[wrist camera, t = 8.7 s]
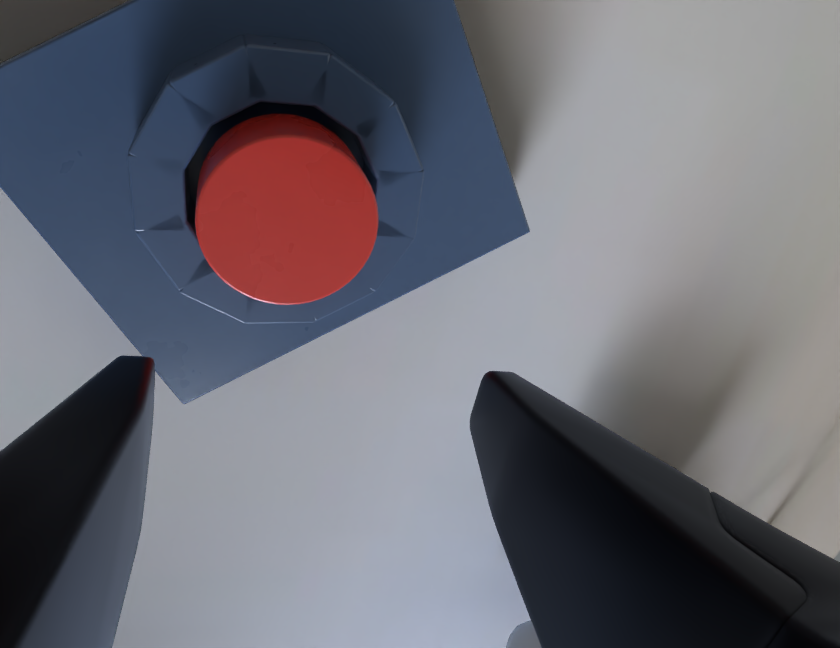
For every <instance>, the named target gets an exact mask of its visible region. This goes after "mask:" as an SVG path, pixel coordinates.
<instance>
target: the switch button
mask: <svg viewBox="0 0 840 648" xmlns="http://www.w3.org/2000/svg"><path fill="white" fill-rule="evenodd" d="M378 219H379V216H378V206H377V202H376V198H375V194H374V192H373V189H372V187H371V184H370V182H369V181H368V179H367V177H366V175H365V174H364V172H363V170H362V169H361V167H360V166H359V164H358V162H357V161H356V159H355V157H354V156H353V154H352V152H351V151H350V150H349V148H348V147H347V146H346V144H345V143H344V142H343V141H342V140H341V139H340V138H339V137H338V136H337V135H336V134H335V133H333V132H332V131H331V130H330V129H328V128H327V127H325V126H323V125H322V124H320V123H318V122H316V121H313V120H311V119H309V118H305V117H302V116H298V115H292V114H266V115H261V116H257V117H253V118H250V119H248V120H245V121H243V122H241V123H239V124H237V125H235V126H234V127H232V128H231V129H229V130H228V131H227V132H225V133H224V134H223V135H222V136H221V137H220V138H219V139H218V140H217V141H216V142H215V143H214V145H213V146H212V148H211V149H210V150H209V152H208V154H207V156H206V158H205V160H204V162H203V164H202V167H201V170H200V174H199V180H198V188H197V198H196V209H195V227H196V235H197V239H198V243H199V246H200V248H201V251H202V253H203V255H204V257H205V259H206V260H207V262H208V264H209V265H210V267H211V268H212V269H213V270H214V272H215V273H216V274H217V275H218V276H219V277H220V278H221V279H222V280H223V281H224V282H225V283H226V284H228V285H229V286H230V287H232V288H233V289H235V290H236V291H238V292H240V293H242V294H243V295H246V296H248V297H250V298H253V299H255V300H259V301H262V302H266V303H272V304H280V305H293V304H302V303H308V302H312V301H315V300H319V299H321V298H324V297H326V296H328V295H331V294H332V293H334V292H336V291H338V290H339V289H341V288H342V287H343V286H345V285H346V284H347V283H349V282H350V281H351V280H352V279H353V278H354V277H355V276H356V275H357V274H358V272H359V271H360V270H361V269H362V268H363V266H364V265H365V263H366V261H367V260H368V258H369V256H370V254H371V252H372V250H373V247H374V244H375V241H376V237H377V232H378Z"/></svg>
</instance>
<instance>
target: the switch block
mask: <svg viewBox="0 0 840 648" xmlns="http://www.w3.org/2000/svg"><path fill="white" fill-rule="evenodd" d="M266 114H292V115H298V116H302V117H305V118H309V119H311V120H313V121H316V122H318V123H320V124H322V125H323V126H325V127H327V128H328V129H330V130H331V131H332V132H333V133H335V134H336V135H337V136H338V137H339V138H340V139H341V140H342V141H343V142H344V143H345V144H346V146H347V147H348V148H349V150H350V151H351V152H352V154H353V156H354V157H355V159H356V161H357V162H358V164H359V166H360V167H361V169H362V170H363V172H364V174H365V175H366V177H367V179H368V181H369V182H370V184H371V187H372V189H373V192H374V194H375V198H376V202H377V206H378V216H379V219H378V232H377V237H376V241H375V244H374V247H373V250H372V252H371V254H370V256H369V258H368V260H367V261H366V263H365V265H364V266H363V268H362V269H361V270H360V271H359V272H358V274H357V275H356V276H355V277H354V278H353V279H352V280H351V281H350V282H349V283H347V284H346V285H345V286H343V287H342V288H341V289H339V290H338V291H336V292H334V293H332V294H331V295H328V296H326V297H324V298H321V299H319V300H315V301H312V302H308V303H302V304H293V305H280V304H272V303H266V302H262V301H259V300H255V299H253V298H250V297H248V296H246V295H243V294H242V293H240V292H238V291H236V290H235V289H233V288H232V287H230V286H229V285H228V284H226V283H225V282H224V281H223V280H222V279H221V278H220V277H219V276H218V275H217V274H216V273H215V272H214V270H213V269H212V268H211V267H210V265H209V264H208V262H207V260H206V259H205V257H204V255H203V253H202V251H201V248H200V246H199V243H198V239H197V235H196V227H195V209H196V198H197V188H198V180H199V174H200V170H201V167H202V164H203V162H204V160H205V158H206V156H207V154H208V152H209V150H210V149H211V148H212V146H213V145H214V143H215V142H216V141H217V140H218V139H219V138H220V137H221V136H222V135H223V134H224V133H225V132H227V131H228V130H229V129H231V128H232V127H234V126H235V125H237V124H239V123H241V122H243V121H245V120H248V119H250V118H253V117H257V116H261V115H266ZM0 187H1V188H2V190H3V191H4V192H5V193H6V194H7V195H8V197H9V198H10V199H11V200H12V201H13V203H14V204H15V205H16V206H17V207H18V209H19V210H20V211H21V212H22V213H23V214H24V216H25V217H26V218H27V219H28V220H29V222H30V223H31V224H32V225H33V226H34V228H35V229H36V230H37V231H38V232H39V233H40V235H41V236H42V237H43V238H44V239H45V241H46V242H47V243H48V244H49V245H50V247H51V248H52V249H53V250H54V251H55V252H56V254H57V255H58V256H59V257H60V258H61V260H62V261H63V262H64V263H65V264H66V266H67V267H68V268H69V269H70V270H71V271H72V273H73V274H74V275H75V276H76V277H77V279H78V280H79V281H80V282H81V283H82V285H83V286H84V287H85V288H86V289H87V290H88V292H89V293H90V294H91V295H92V296H93V298H94V299H95V300H96V301H97V302H98V304H99V305H100V306H101V307H102V308H103V309H104V311H105V312H106V313H107V314H108V315H109V317H110V318H111V319H112V320H113V321H114V323H115V324H116V325H117V326H118V327H119V328H120V330H121V331H122V332H123V333H124V334H125V336H126V337H127V338H128V339H129V340H130V342H131V343H132V344H133V345H134V346H135V347H136V349H137V350H138V351H139V352H140V353H141V355H142V356H143V357H151V358H153V359H154V361H155V371H156V372H157V374H158V375H159V376H160V377H161V378H162V380H163V381H164V382H165V383H166V384H167V385H168V387H169V388H170V389H171V390H172V391H173V393H174V394H175V395H176V396H177V397H178V399H179V400H180V401H181V402H182V403H183V404H186V403H188V402H190V401H192V400H194V399H196V398H198V397H200V396H202V395H204V394H206V393H208V392H210V391H212V390H214V389H216V388H218V387H220V386H222V385H224V384H226V383H228V382H230V381H232V380H234V379H236V378H238V377H240V376H242V375H244V374H246V373H248V372H250V371H252V370H254V369H256V368H258V367H260V366H262V365H264V364H266V363H268V362H270V361H272V360H274V359H276V358H278V357H280V356H282V355H284V354H286V353H288V352H290V351H292V350H294V349H296V348H298V347H300V346H302V345H304V344H306V343H308V342H310V341H312V340H314V339H316V338H318V337H320V336H322V335H324V334H326V333H328V332H330V331H332V330H334V329H336V328H338V327H340V326H342V325H344V324H346V323H348V322H350V321H352V320H354V319H356V318H358V317H360V316H362V315H364V314H366V313H368V312H370V311H372V310H374V309H376V308H378V307H380V306H382V305H384V304H386V303H388V302H390V301H392V300H394V299H396V298H398V297H400V296H402V295H404V294H406V293H408V292H410V291H412V290H414V289H416V288H418V287H420V286H422V285H424V284H426V283H428V282H430V281H432V280H434V279H436V278H438V277H440V276H442V275H444V274H446V273H448V272H450V271H452V270H454V269H456V268H458V267H460V266H462V265H464V264H466V263H468V262H470V261H472V260H474V259H476V258H478V257H480V256H482V255H484V254H486V253H488V252H490V251H492V250H494V249H496V248H498V247H500V246H502V245H504V244H506V243H508V242H510V241H512V240H514V239H516V238H518V237H520V236H522V235H524V234H526V233H528V232H530V229H529V226H528V223H527V220H526V217H525V214H524V211H523V208H522V205H521V202H520V199H519V196H518V193H517V190H516V187H515V184H514V181H513V178H512V175H511V172H510V169H509V166H508V163H507V160H506V157H505V154H504V151H503V148H502V145H501V141H500V138H499V135H498V132H497V129H496V126H495V123H494V120H493V117H492V114H491V111H490V108H489V105H488V102H487V99H486V96H485V93H484V90H483V87H482V84H481V81H480V78H479V75H478V72H477V69H476V66H475V63H474V60H473V57H472V53H471V50H470V47H469V44H468V41H467V38H466V35H465V32H464V29H463V26H462V23H461V20H460V17H459V14H458V11H457V8H456V5H455V2H454V0H129V1H127V2H125V3H123V4H121V5H119V6H116V7H114V8H112V9H110V10H108V11H106V12H104V13H102V14H100V15H98V16H96V17H94V18H92V19H90V20H88V21H86V22H84V23H82V24H80V25H78V26H76V27H74V28H72V29H70V30H68V31H66V32H64V33H62V34H60V35H58V36H56V37H53V38H51V39H49V40H47V41H45V42H43V43H41V44H39V45H37V46H35V47H33V48H31V49H29V50H27V51H25V52H23V53H21V54H19V55H17V56H15V57H13V58H11V59H9V60H7V61H5V62H3V63H1V64H0Z"/></svg>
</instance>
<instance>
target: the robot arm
mask: <svg viewBox="0 0 840 648" xmlns="http://www.w3.org/2000/svg"><path fill="white" fill-rule="evenodd" d="M154 383H155V361H154V359H153V358H151V357H143V356H120V357H118V358H116V359H115V360H114V361H112V362H111V363H110V364H109V365H107V366H106V367H105V368H104V369H102V370H101V371H100V372H99V373H97V374H96V375H95V376H94V377H92V378H91V379H90V380H89V381H88V382H86V383H85V384H84V385H83V386H81V387H80V388H79V389H78V390H76V391H75V392H74V393H73V394H71V395H70V396H69V397H68V398H66V399H65V400H64V401H63V402H61V403H60V404H59V405H58V406H56V407H55V408H54V409H53V410H51V411H50V412H49V413H48V414H46V415H45V416H44V417H43V418H41V419H40V420H39V421H38V422H36V423H35V424H34V425H33V426H32V427H30V428H29V429H28V430H27V431H25V432H24V433H23V434H22V435H20V436H19V437H18V438H17V439H15V440H14V441H13V442H12V443H10V444H9V445H8V446H7V447H5V448H4V449H3V450H2V451H0V648H112V646H113V642H114V638H115V634H116V630H117V626H118V622H119V618H120V614H121V610H122V606H123V602H124V598H125V594H126V590H127V586H128V582H129V578H130V574H131V570H132V566H133V562H134V558H135V554H136V550H137V545H138V541H139V536H140V531H141V525H142V518H143V511H144V501H145V492H146V483H147V473H148V464H149V454H150V445H151V435H152V426H153V411H154ZM470 430H471V435H472V439H473V443H474V447H475V451H476V455H477V459H478V463H479V467H480V471H481V475H482V479H483V483H484V487H485V491H486V495H487V499H488V503H489V506H490V510H491V513H492V517H493V519H494V522H495V525H496V528H497V531H498V534H499V536H500V539H501V542H502V544H503V547H504V550H505V552H506V555H507V558H508V560H509V563H510V566H511V568H512V571H513V574H514V576H515V579H516V581H517V584H518V587H519V589H520V592H521V595H522V597H523V600H524V603H525V605H526V608H527V611H528V613H529V616H530V619H531V621H532V624H533V627H534V629H535V632H536V635H537V637H538V640H539V643H540V645H541V648H840V562H838V561H836V560H834V559H832V558H831V557H829V556H827V555H825V554H823V553H821V552H819V551H817V550H816V549H814V548H812V547H810V546H808V545H806V544H804V543H803V542H801V541H799V540H797V539H795V538H793V537H792V536H790V535H788V534H786V533H784V532H782V531H781V530H779V529H777V528H775V527H773V526H772V525H770V524H768V523H766V522H765V521H763V520H761V519H759V518H758V517H756V516H754V515H753V514H751V513H749V512H747V511H746V510H744V509H742V508H740V507H739V506H737V505H735V504H734V503H732V502H730V501H729V500H727V499H725V498H724V497H722V496H720V495H718V494H717V493H715V492H711V493H710V491H709V489H708V488H706V487H705V486H703V485H701V484H700V483H698V482H696V481H695V480H693V479H691V478H690V477H688V476H686V475H685V474H683V473H681V472H680V471H678V470H676V469H675V468H673V467H671V466H669V465H668V464H666V463H664V462H663V461H661V460H659V459H658V458H656V457H654V456H653V455H651V454H649V453H648V452H646V451H644V450H643V449H641V448H639V447H638V446H636V445H634V444H633V443H631V442H629V441H627V440H626V439H624V438H622V437H621V436H619V435H617V434H616V433H614V432H612V431H611V430H609V429H607V428H606V427H604V426H602V425H601V424H599V423H597V422H596V421H594V420H592V419H590V418H589V417H587V416H585V415H584V414H582V413H580V412H579V411H577V410H575V409H574V408H572V407H570V406H569V405H567V404H565V403H564V402H562V401H560V400H559V399H557V398H555V397H554V396H552V395H550V394H548V393H547V392H545V391H543V390H542V389H540V388H538V387H537V386H535V385H533V384H532V383H530V382H528V381H527V380H525V379H523V378H522V377H520V376H518V375H517V374H515V373H512V372H502V371H489V372H487V373H486V374H485V375H484V376H483V378H482V381H481V384H480V387H479V390H478V393H477V397H476V400H475V403H474V406H473V410H472V413H471V417H470Z"/></svg>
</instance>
